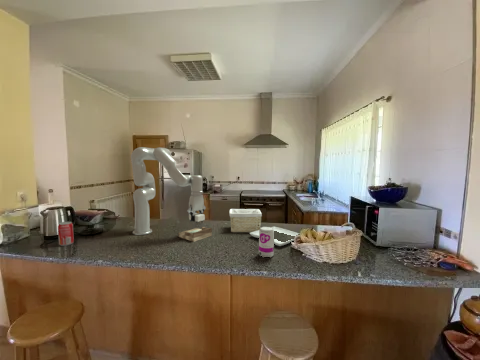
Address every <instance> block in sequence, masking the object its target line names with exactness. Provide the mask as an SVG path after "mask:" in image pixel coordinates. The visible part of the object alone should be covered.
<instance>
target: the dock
mask: <svg viewBox="0 0 480 360" xmlns="http://www.w3.org/2000/svg"><path fill="white" fill-rule="evenodd" d="M212 231H213V228H212V227H205V226H202V227H201V228H199V227H195V228H191V229H186V230H183V231H180V232H177V237H179V238H181V239H183V240H188V241H189V242H194V243H195V242H197V241H201V240H203V239H207V238H209V237H212V236H213V235H212V234H213V232H212Z"/></svg>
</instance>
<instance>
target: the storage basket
mask: <svg viewBox="0 0 480 360" xmlns="http://www.w3.org/2000/svg"><path fill="white" fill-rule="evenodd" d="M262 214H263V213H262V212H261V210H260V209H259V208H246V209H245V208H230V209H229V218H230V232H231V233H251V232H254V231H258V230H260V228H261V225H262V224H261V223H262V217H263V215H262Z"/></svg>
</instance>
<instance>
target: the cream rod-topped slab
mask: <svg viewBox="0 0 480 360" xmlns="http://www.w3.org/2000/svg"><path fill="white" fill-rule="evenodd" d="M194 215H195V221H194V222H195V223H196V224H199V223H200V222H205V220H206V216H205V214H204V213H203V214H199V212H198V213H197V211H195V214H194ZM188 220H189V222H192V221H191V215H190V214H189V213H188Z"/></svg>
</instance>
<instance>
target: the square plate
mask: <svg viewBox="0 0 480 360" xmlns="http://www.w3.org/2000/svg"><path fill="white" fill-rule="evenodd" d="M270 227H271V228H273V230H274V231H277V232H279V233H284V234H287V235H291V236H296V235H298V234H300V233H299V232H296V231H291V230H289V229H287V228H282V227H277V226H270ZM249 234H250V236H252V237H253V238H257V239H258V238H259V230H258V231H254V232H249ZM292 241H294V239H291V240H288V241H286V242H281V241H278V240H277V239H274V244H275V245H274V246H277V247H282V246H284V245H287V244H290V242H291V243H293V242H292ZM294 242H295V241H294Z"/></svg>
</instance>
